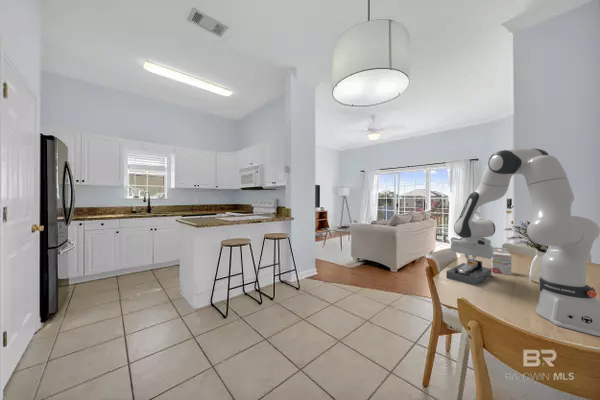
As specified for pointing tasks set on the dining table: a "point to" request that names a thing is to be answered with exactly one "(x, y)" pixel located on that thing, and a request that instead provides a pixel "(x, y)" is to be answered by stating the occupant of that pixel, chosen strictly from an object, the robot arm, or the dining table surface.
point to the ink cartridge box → (501, 261)
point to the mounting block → (470, 274)
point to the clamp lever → (467, 267)
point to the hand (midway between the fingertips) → (470, 262)
